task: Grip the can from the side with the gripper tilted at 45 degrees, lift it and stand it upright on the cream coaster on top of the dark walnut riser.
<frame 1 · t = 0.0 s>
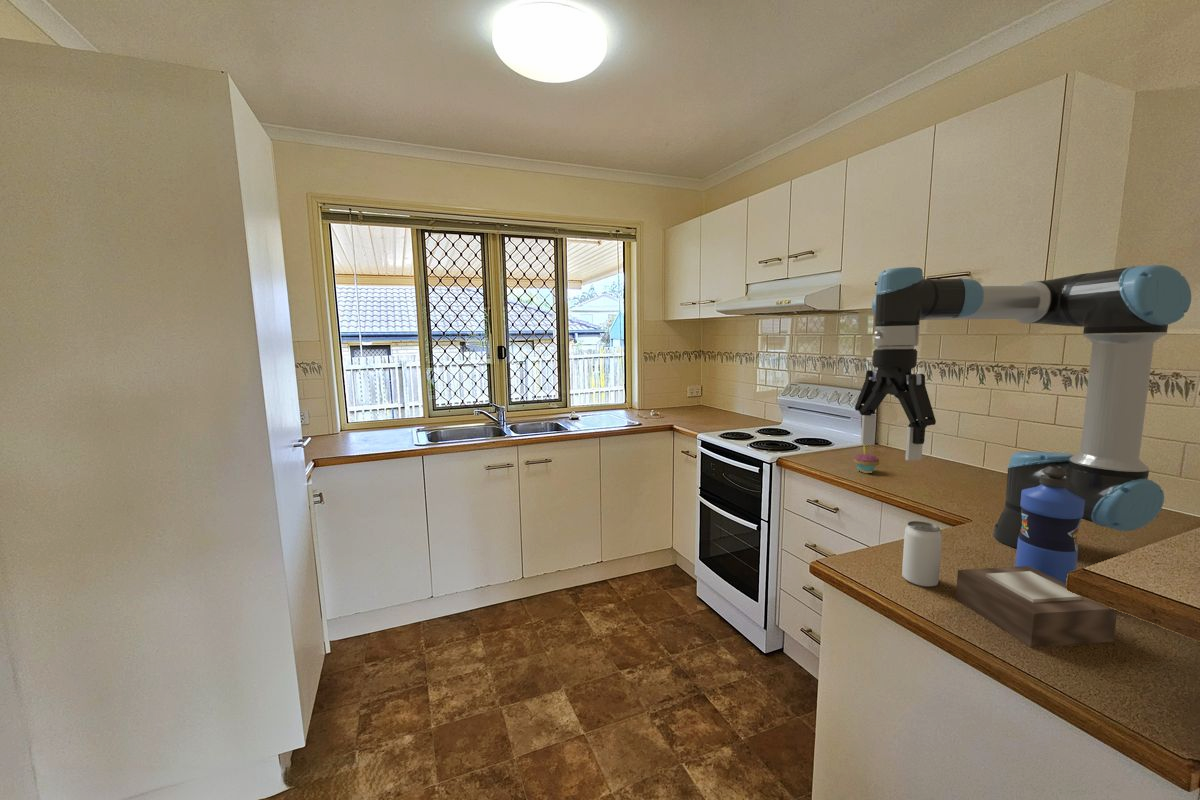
hand: (888, 452, 96), 28 cm above the counter, tool pointing down, fingers open, 13 cm apart
cupcake: (865, 472, 181), on the counter
riser: (1028, 618, 86), on the counter
water bottle: (1042, 584, 98), on the counter
can: (919, 581, 100), on the counter
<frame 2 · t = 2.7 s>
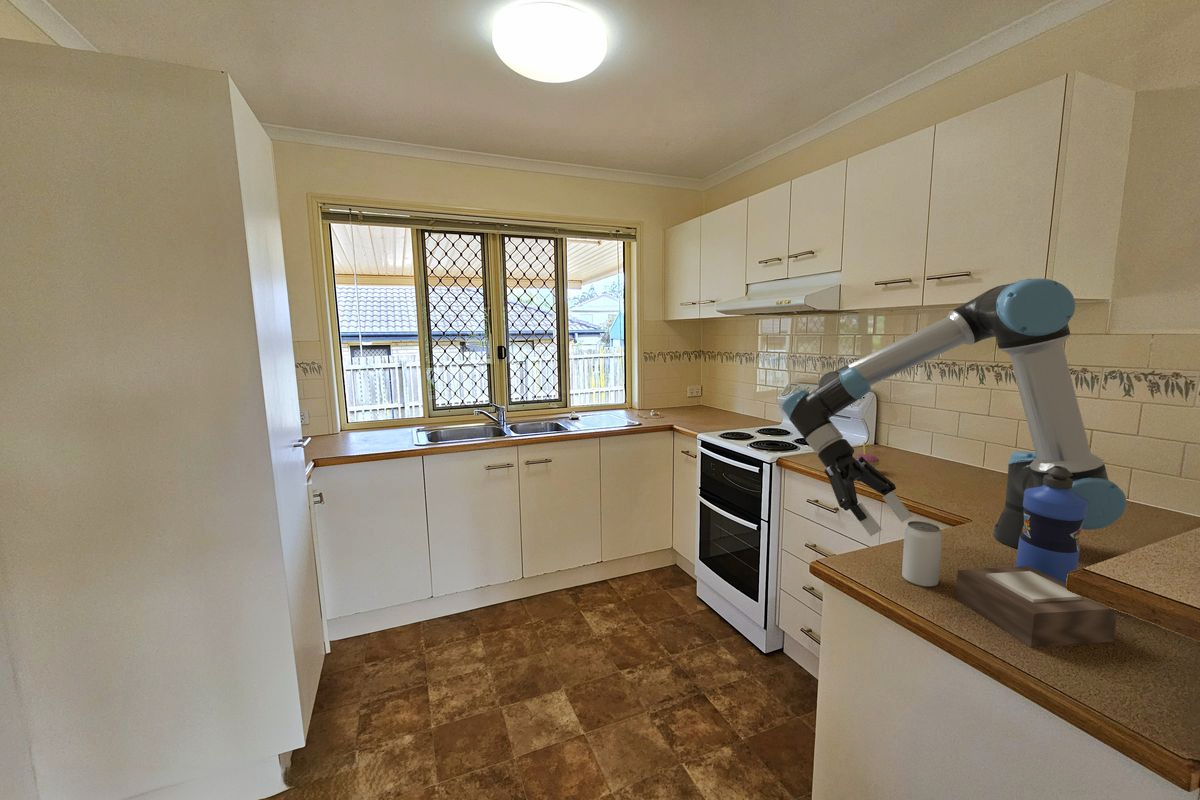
hand: (892, 526, 103), 10 cm above the counter, tool tilted 45°, fingers open, 13 cm apart
water bottle: (1043, 583, 98), on the counter, touching arm
everything else where it was.
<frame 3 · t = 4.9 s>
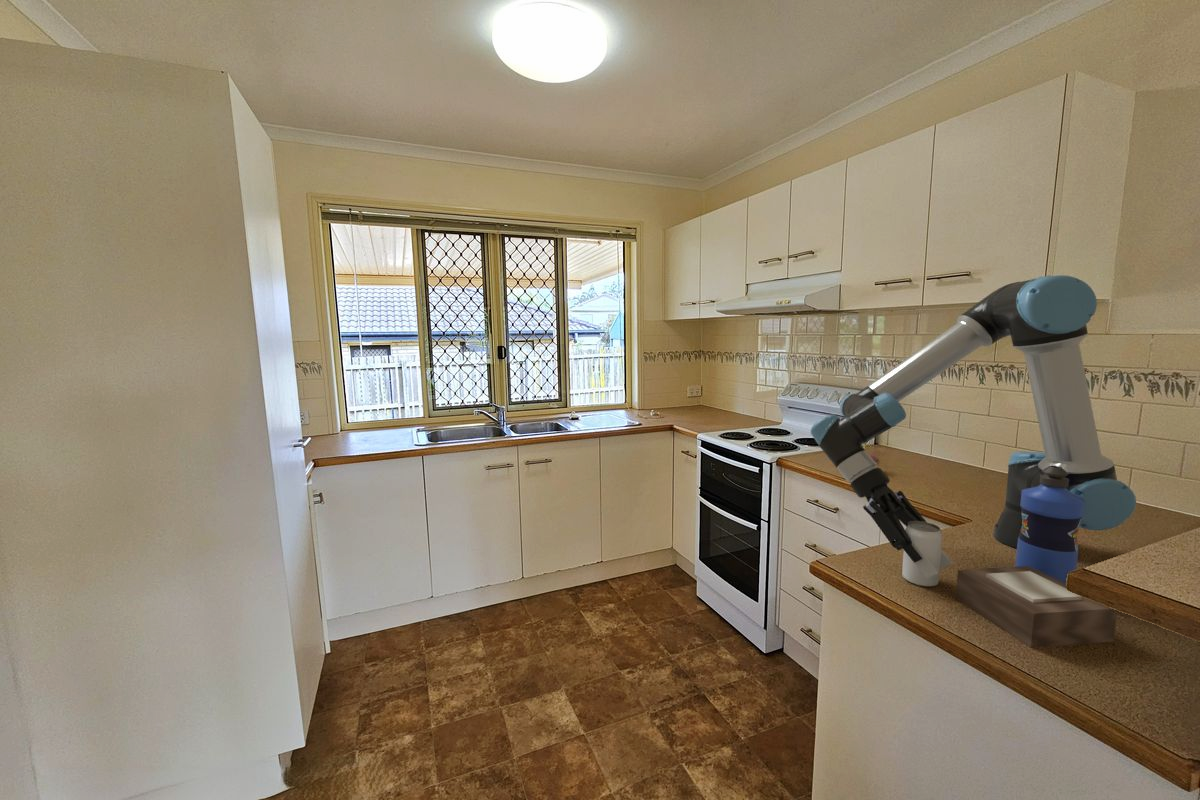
hand: (939, 570, 96), 4 cm above the counter, tool tilted 45°, fingers closed on can, 6 cm apart
water bottle: (1042, 584, 98), on the counter
can: (919, 580, 100), on the counter, touching gripper
everything else where it was.
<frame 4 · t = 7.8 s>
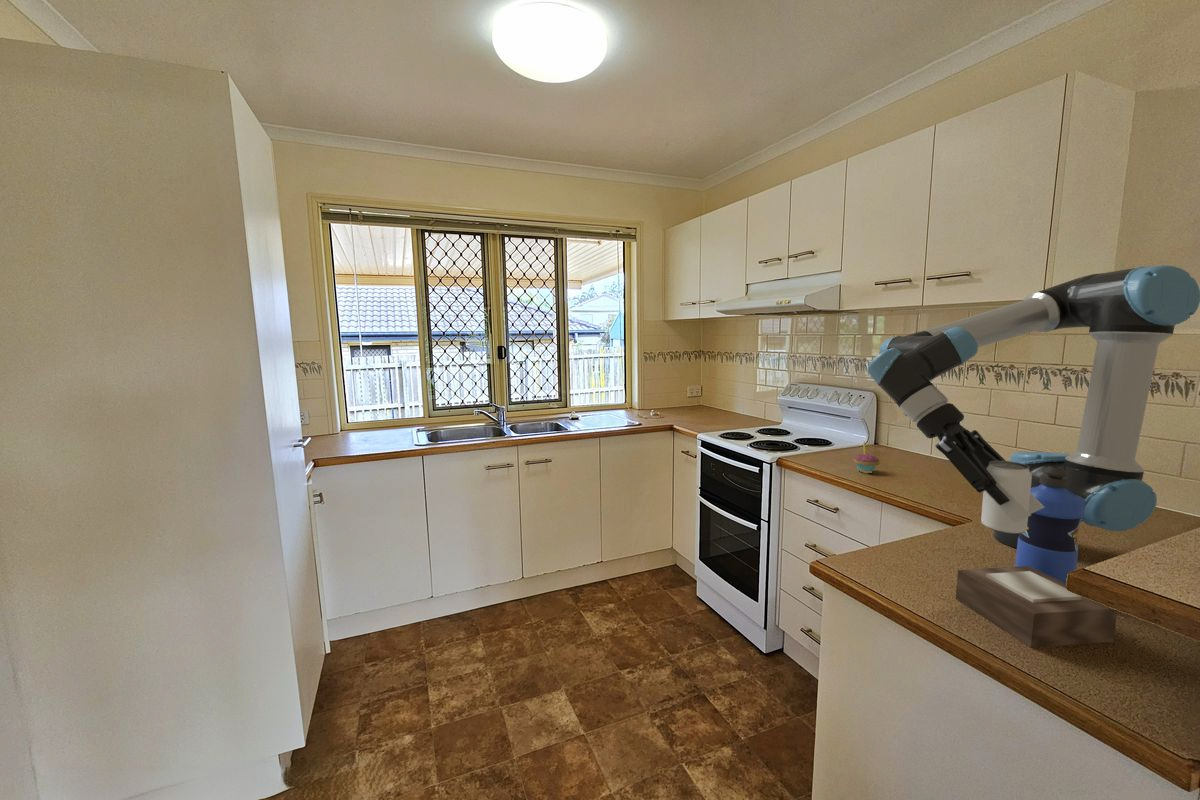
hand: (1029, 514, 83), 20 cm above the counter, tool tilted 45°, fingers closed on can, 6 cm apart
can: (1003, 528, 87), point 16 cm above the counter, touching gripper
everything else where it was.
when the fingers open (12 cm above the counter, at t = 10.5 s): can drops 1 cm, resting on riser.
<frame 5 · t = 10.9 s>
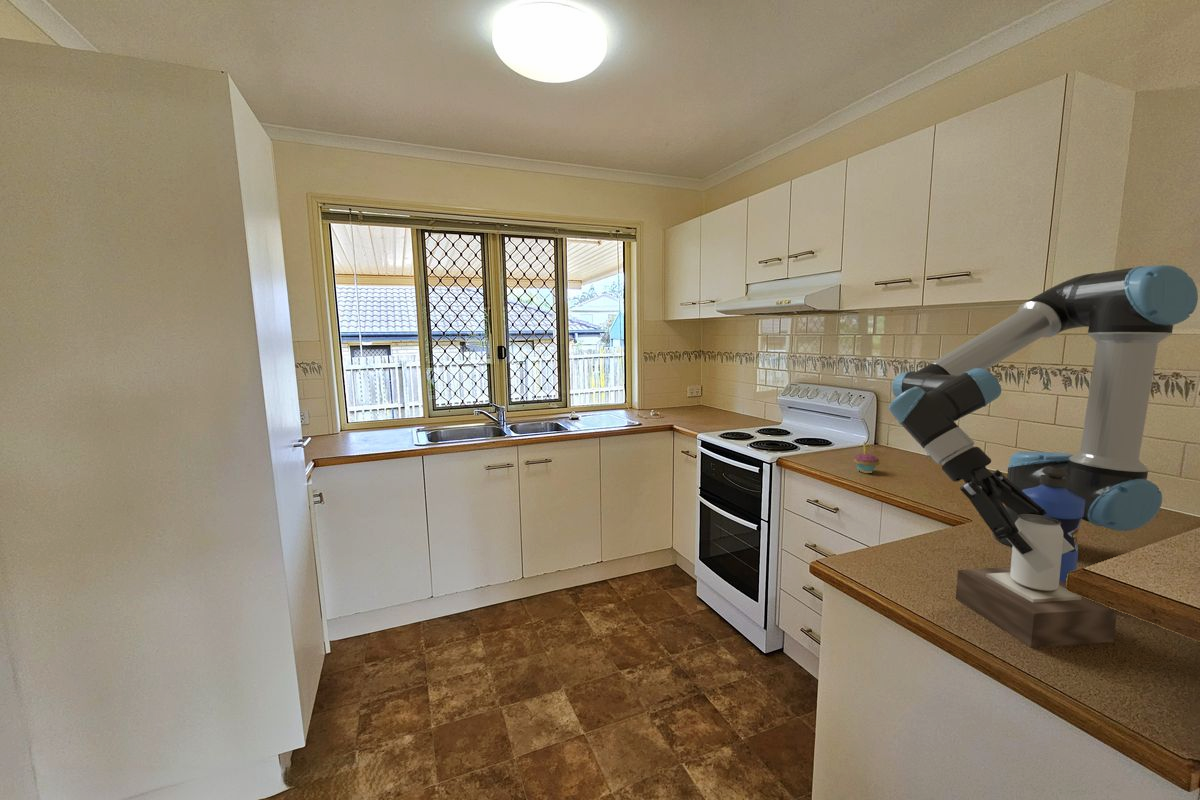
hand: (1056, 560, 82), 12 cm above the counter, tool tilted 45°, fingers open, 10 cm apart
can: (1033, 584, 85), point 7 cm above the counter, touching riser
everything else where it was.
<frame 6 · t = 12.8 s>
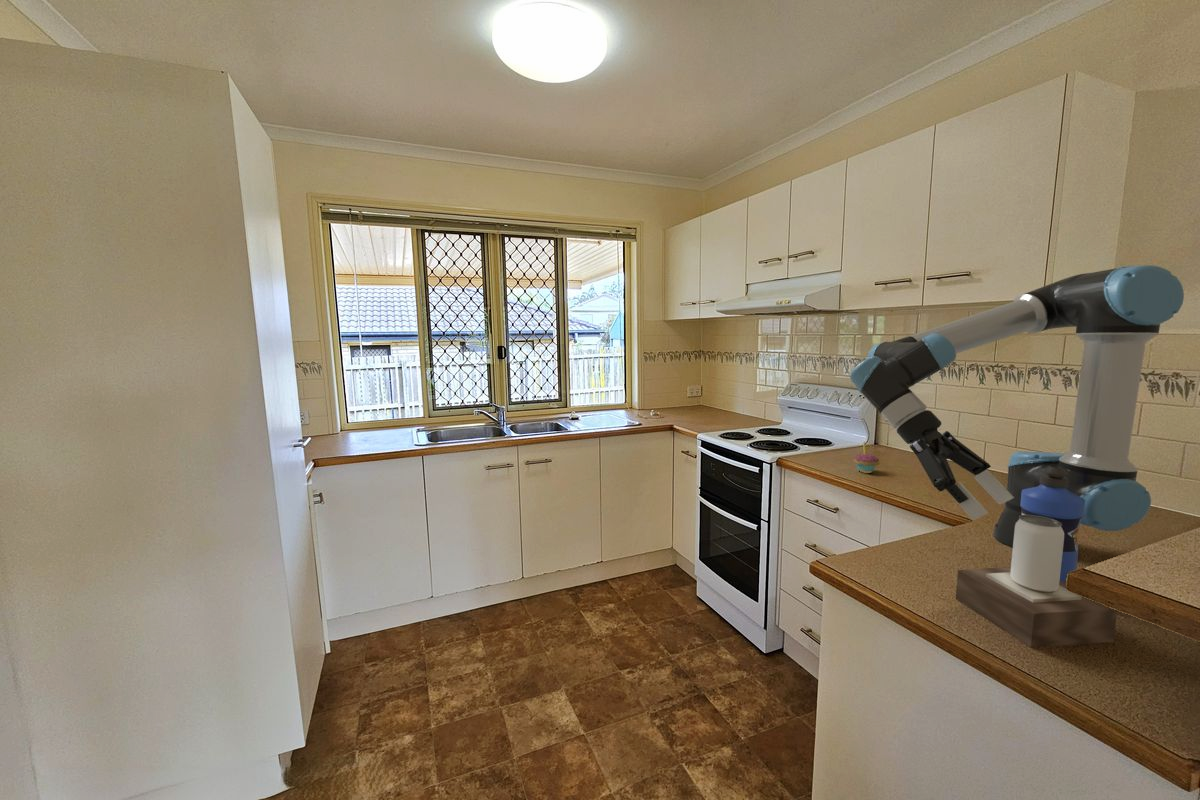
hand: (994, 508, 88), 19 cm above the counter, tool tilted 45°, fingers open, 13 cm apart
nothing on the counter moved.
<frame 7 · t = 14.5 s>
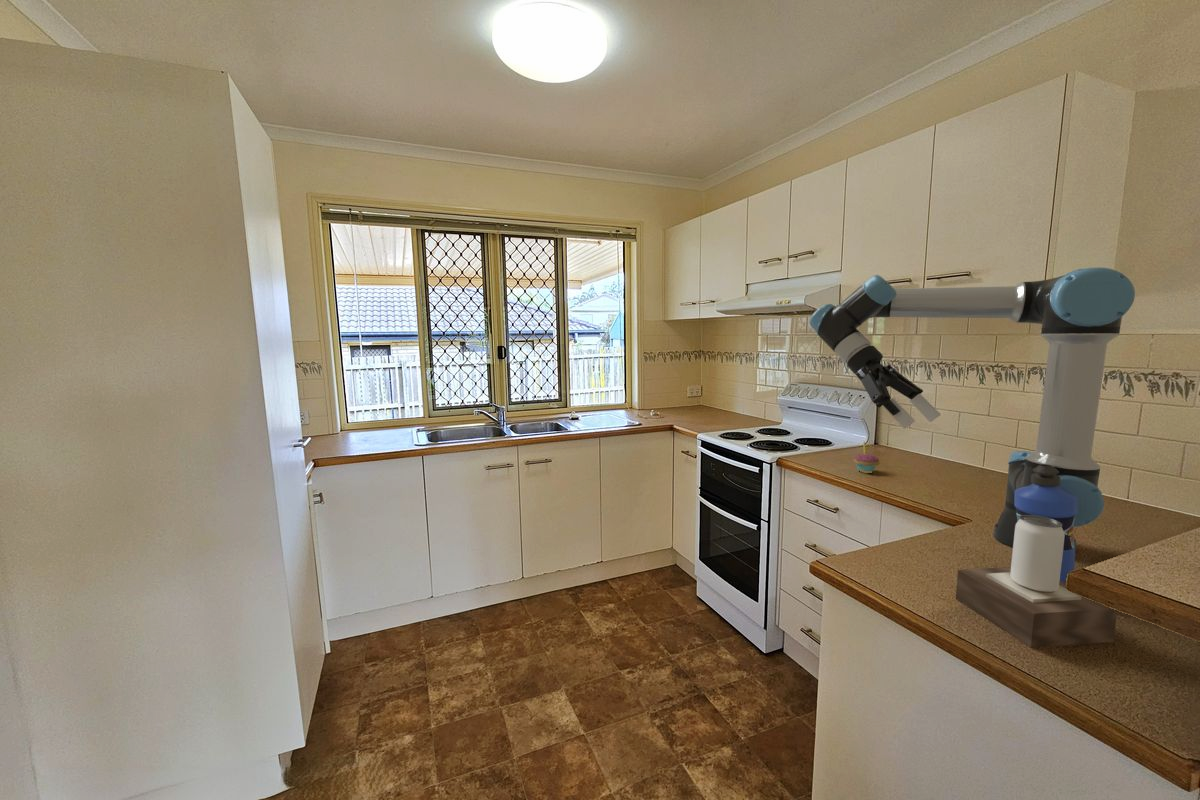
hand: (923, 421, 107), 32 cm above the counter, tool tilted 45°, fingers open, 13 cm apart
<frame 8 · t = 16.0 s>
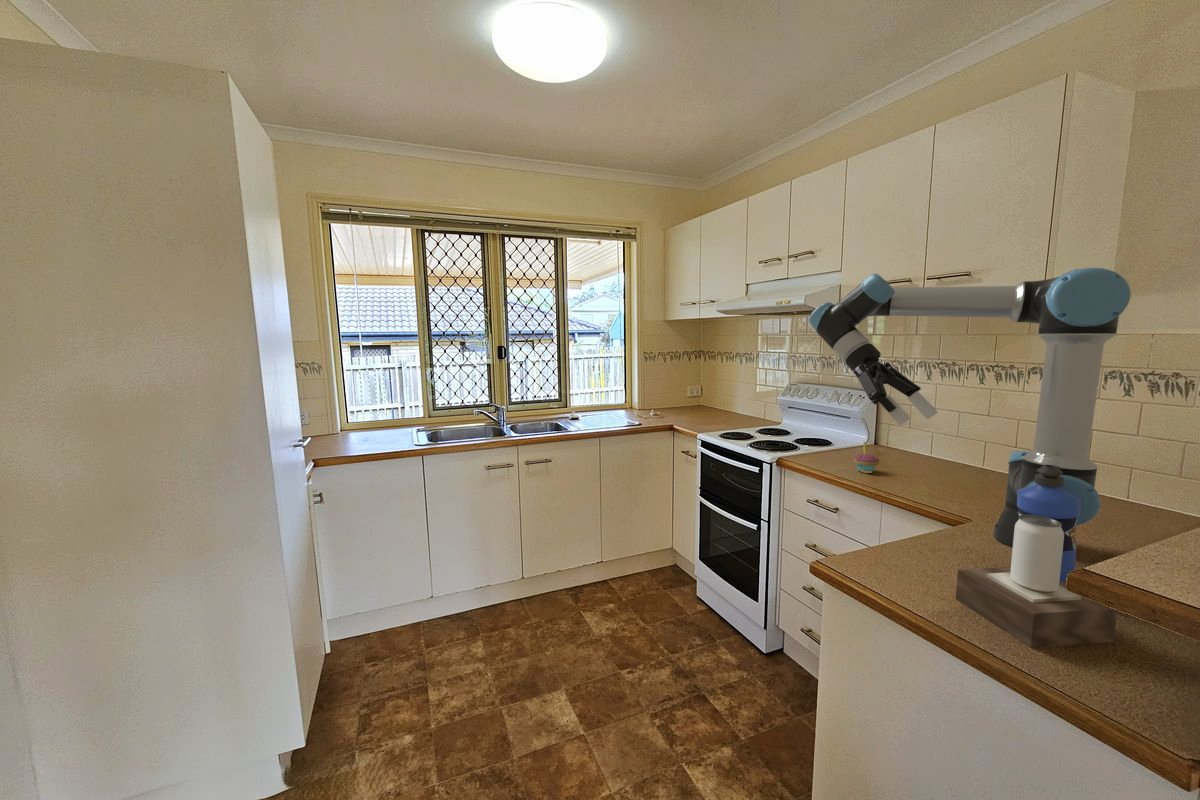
hand: (919, 418, 108), 33 cm above the counter, tool tilted 45°, fingers open, 13 cm apart
water bottle: (1043, 583, 98), on the counter, touching arm
everything else where it was.
at the end: can inside the target area on the riser (0.4 cm from its centre), point 6.4 cm above the riser's base; can tilted 0°; the gripper is holding nothing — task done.
